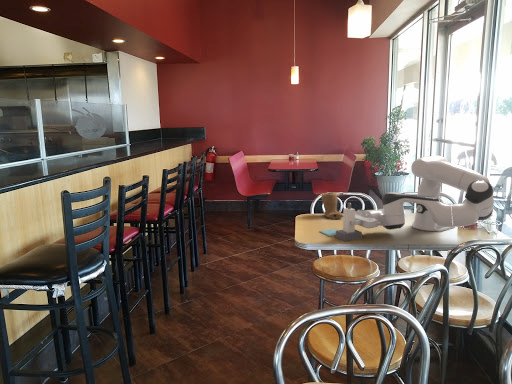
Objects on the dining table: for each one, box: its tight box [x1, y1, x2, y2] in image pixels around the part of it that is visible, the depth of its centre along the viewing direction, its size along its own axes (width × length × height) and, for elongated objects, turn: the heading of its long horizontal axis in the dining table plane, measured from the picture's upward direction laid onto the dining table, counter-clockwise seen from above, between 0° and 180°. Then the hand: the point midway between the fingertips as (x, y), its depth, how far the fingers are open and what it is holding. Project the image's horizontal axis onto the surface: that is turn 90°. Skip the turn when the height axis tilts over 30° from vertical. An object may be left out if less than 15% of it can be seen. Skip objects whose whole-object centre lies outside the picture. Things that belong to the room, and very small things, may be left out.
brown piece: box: [321, 191, 343, 220], centre depth 249 cm, size 15×12×15 cm
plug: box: [342, 202, 356, 233], centre depth 203 cm, size 4×4×18 cm
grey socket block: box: [335, 229, 362, 242], centre depth 205 cm, size 10×8×4 cm
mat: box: [318, 228, 338, 238], centre depth 214 cm, size 10×10×1 cm
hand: (347, 221), depth 203 cm, fingers closed on plug, 4 cm apart
